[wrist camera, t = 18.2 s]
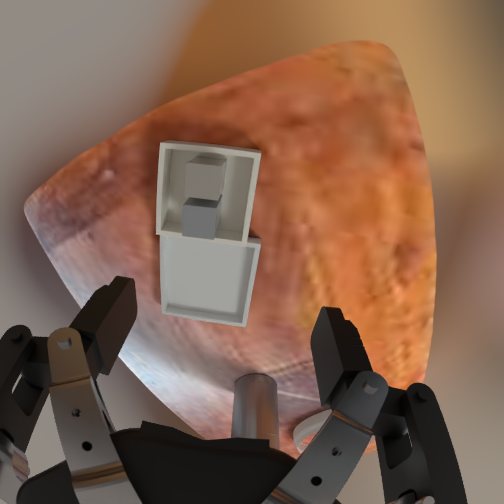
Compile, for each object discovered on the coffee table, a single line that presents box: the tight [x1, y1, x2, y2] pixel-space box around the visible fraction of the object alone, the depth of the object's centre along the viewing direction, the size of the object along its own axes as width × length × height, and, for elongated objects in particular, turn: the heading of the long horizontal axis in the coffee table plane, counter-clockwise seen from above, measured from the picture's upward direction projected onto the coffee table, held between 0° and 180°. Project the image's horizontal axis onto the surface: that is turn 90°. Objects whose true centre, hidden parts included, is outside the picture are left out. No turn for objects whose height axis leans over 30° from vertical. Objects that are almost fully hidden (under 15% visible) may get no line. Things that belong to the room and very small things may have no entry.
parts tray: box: [160, 235, 261, 327], centre depth 43 cm, size 15×14×2 cm
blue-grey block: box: [182, 195, 223, 240], centre depth 35 cm, size 4×4×6 cm
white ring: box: [293, 409, 375, 453], centre depth 65 cm, size 27×27×6 cm
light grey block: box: [184, 156, 227, 201], centre depth 33 cm, size 4×4×6 cm
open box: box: [156, 140, 261, 247], centre depth 36 cm, size 12×12×4 cm
